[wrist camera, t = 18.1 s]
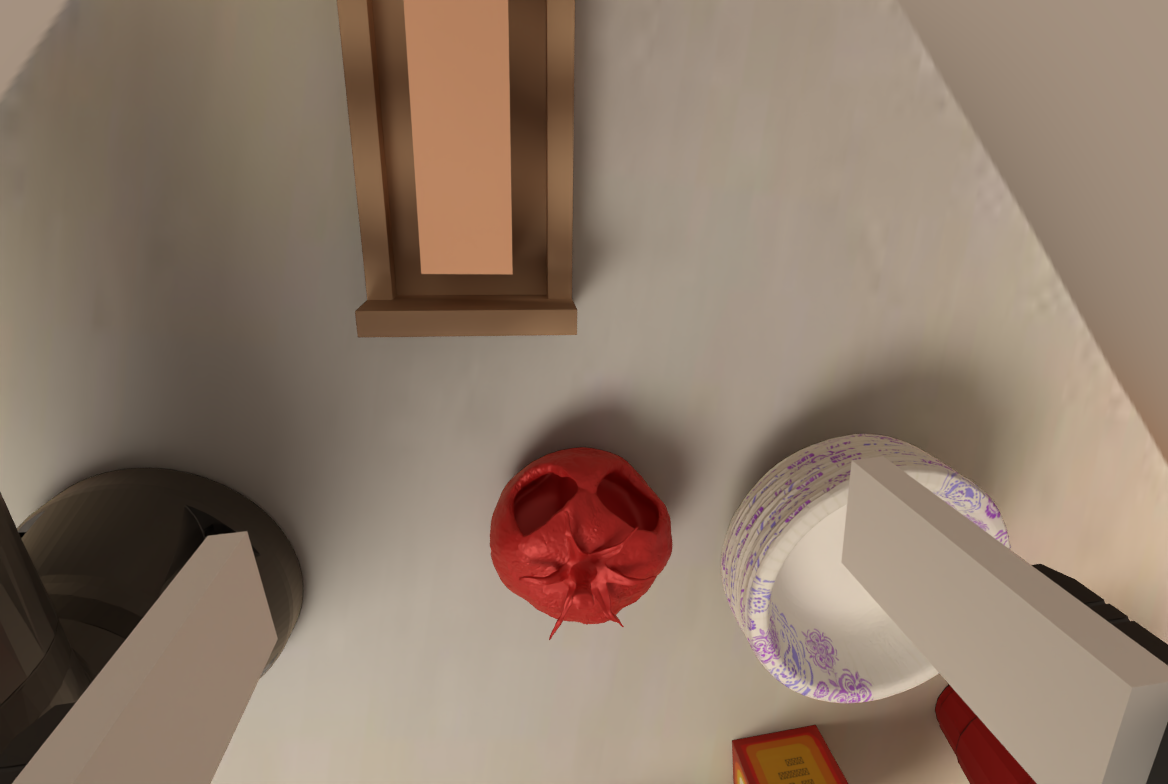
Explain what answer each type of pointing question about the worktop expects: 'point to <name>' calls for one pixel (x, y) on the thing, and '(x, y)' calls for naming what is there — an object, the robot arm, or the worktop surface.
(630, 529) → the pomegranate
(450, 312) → the wooden crate tray
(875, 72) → the worktop surface
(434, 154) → the orange rectangular block
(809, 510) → the paper bowls
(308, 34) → the worktop surface
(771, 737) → the baking soda box
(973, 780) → the plastic cup
